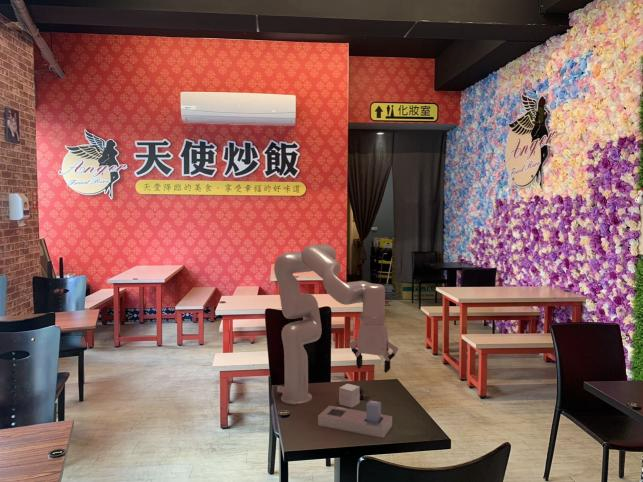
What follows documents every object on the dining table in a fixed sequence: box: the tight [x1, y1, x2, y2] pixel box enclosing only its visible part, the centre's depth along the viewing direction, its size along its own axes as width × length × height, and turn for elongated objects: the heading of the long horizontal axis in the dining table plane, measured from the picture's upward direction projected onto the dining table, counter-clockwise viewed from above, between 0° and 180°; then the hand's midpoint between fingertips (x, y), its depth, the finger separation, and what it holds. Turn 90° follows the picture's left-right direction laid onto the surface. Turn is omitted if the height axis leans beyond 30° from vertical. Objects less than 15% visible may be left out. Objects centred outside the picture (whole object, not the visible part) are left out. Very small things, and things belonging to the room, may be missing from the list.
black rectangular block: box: [358, 385, 372, 402], centre depth 194 cm, size 12×7×5 cm, turn 67°
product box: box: [338, 383, 361, 409], centre depth 185 cm, size 6×6×7 cm
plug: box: [365, 400, 382, 424], centre depth 162 cm, size 4×4×10 cm
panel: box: [317, 405, 393, 439], centre depth 165 cm, size 24×10×4 cm, turn 65°
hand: (373, 369), depth 161 cm, fingers open, 9 cm apart
